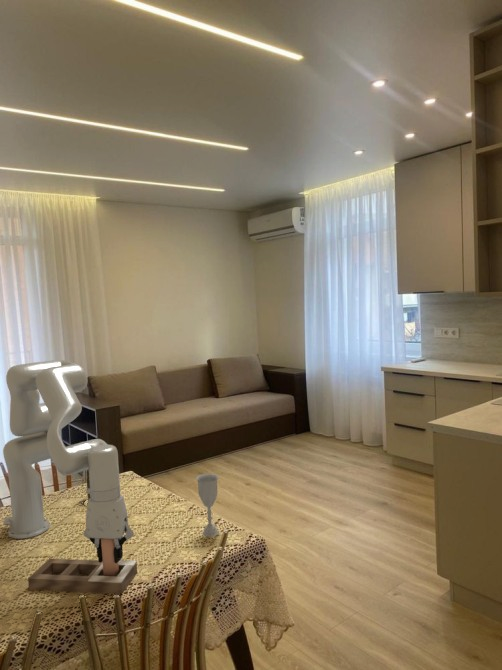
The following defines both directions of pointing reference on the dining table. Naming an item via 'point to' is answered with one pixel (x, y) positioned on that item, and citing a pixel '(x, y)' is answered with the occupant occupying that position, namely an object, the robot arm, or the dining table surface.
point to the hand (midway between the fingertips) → (110, 559)
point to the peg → (109, 558)
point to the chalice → (208, 499)
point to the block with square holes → (76, 583)
